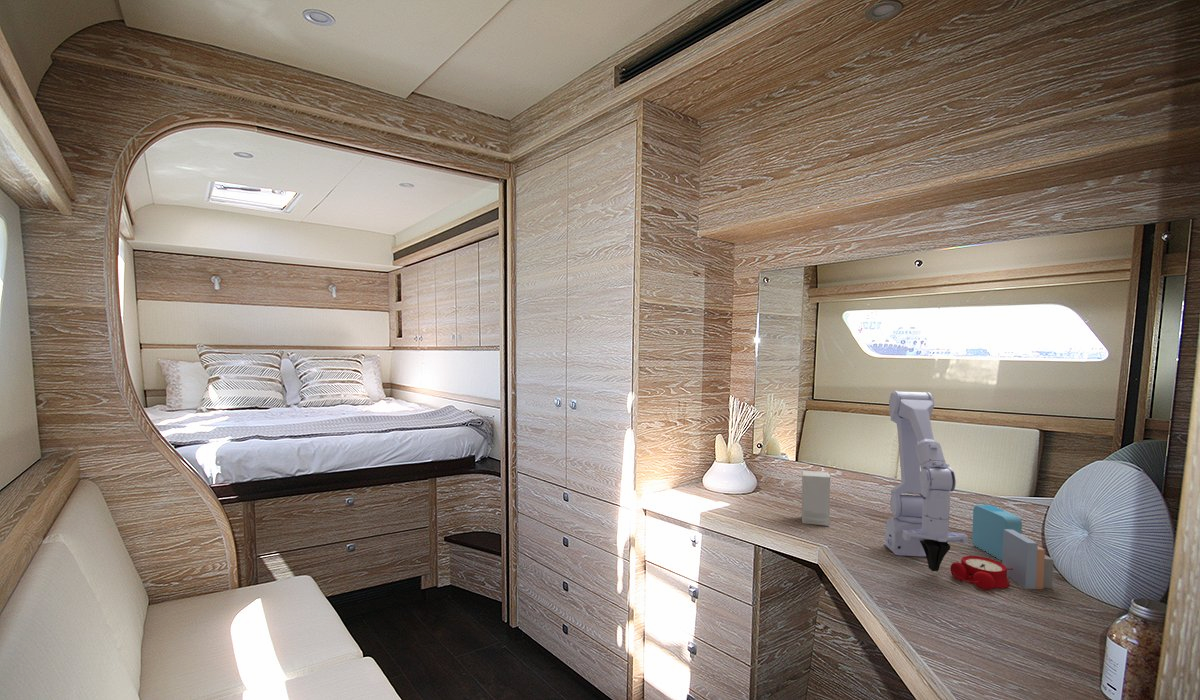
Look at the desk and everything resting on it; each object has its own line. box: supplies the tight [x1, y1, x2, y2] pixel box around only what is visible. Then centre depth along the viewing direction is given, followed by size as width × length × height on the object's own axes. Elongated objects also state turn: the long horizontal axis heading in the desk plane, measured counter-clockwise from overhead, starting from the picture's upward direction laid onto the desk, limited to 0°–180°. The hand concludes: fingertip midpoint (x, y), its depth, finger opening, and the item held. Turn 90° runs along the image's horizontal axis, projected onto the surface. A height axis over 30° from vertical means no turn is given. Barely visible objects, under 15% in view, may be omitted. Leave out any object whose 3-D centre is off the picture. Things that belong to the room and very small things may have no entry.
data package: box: [971, 504, 1023, 561], centre depth 150 cm, size 12×4×12 cm, turn 3°
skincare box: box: [801, 470, 831, 527], centre depth 172 cm, size 8×7×16 cm
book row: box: [1001, 529, 1054, 590], centre depth 134 cm, size 6×9×11 cm
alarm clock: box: [949, 555, 1013, 591], centre depth 134 cm, size 10×6×15 cm
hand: (933, 569), depth 136 cm, fingers closed
